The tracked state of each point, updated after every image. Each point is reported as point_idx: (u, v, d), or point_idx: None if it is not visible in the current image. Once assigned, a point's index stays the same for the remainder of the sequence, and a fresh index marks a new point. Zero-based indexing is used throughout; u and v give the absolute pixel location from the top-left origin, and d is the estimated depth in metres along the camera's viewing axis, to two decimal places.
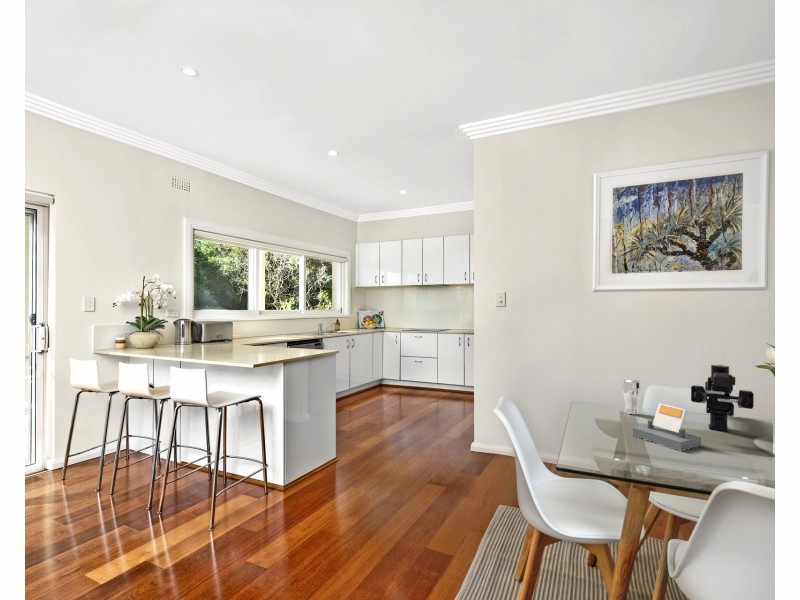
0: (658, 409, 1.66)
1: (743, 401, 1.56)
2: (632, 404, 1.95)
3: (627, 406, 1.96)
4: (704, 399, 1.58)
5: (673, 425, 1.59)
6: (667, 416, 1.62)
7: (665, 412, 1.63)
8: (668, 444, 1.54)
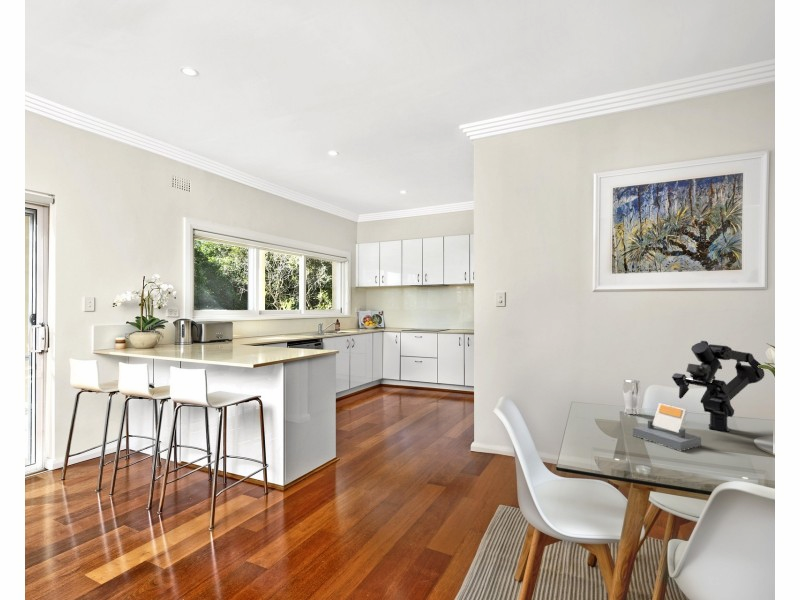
0: (658, 409, 1.66)
1: (714, 391, 1.64)
2: (632, 404, 1.95)
3: (627, 406, 1.96)
4: None
5: (673, 425, 1.59)
6: (667, 416, 1.62)
7: (665, 412, 1.63)
8: (668, 444, 1.54)
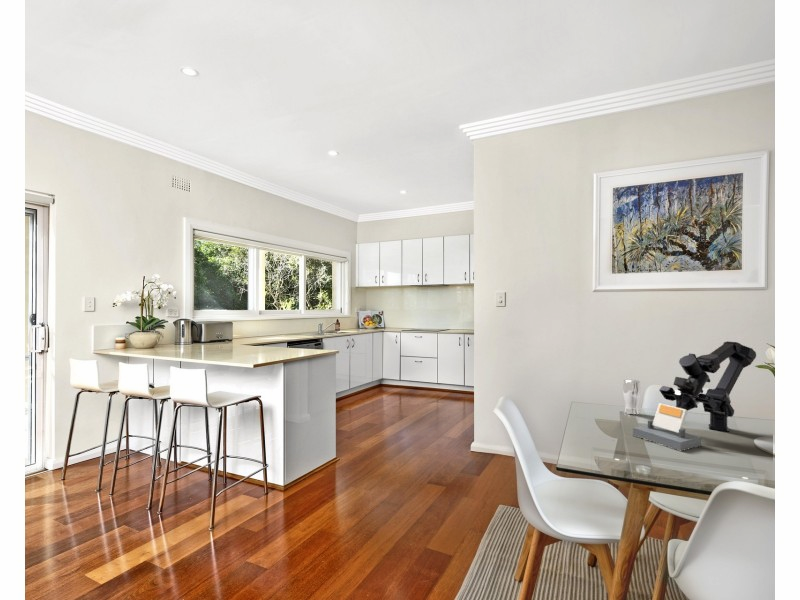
0: (658, 409, 1.66)
1: (690, 403, 1.64)
2: (632, 404, 1.95)
3: (627, 406, 1.96)
4: None
5: (673, 425, 1.59)
6: (667, 416, 1.62)
7: (665, 412, 1.63)
8: (668, 444, 1.54)
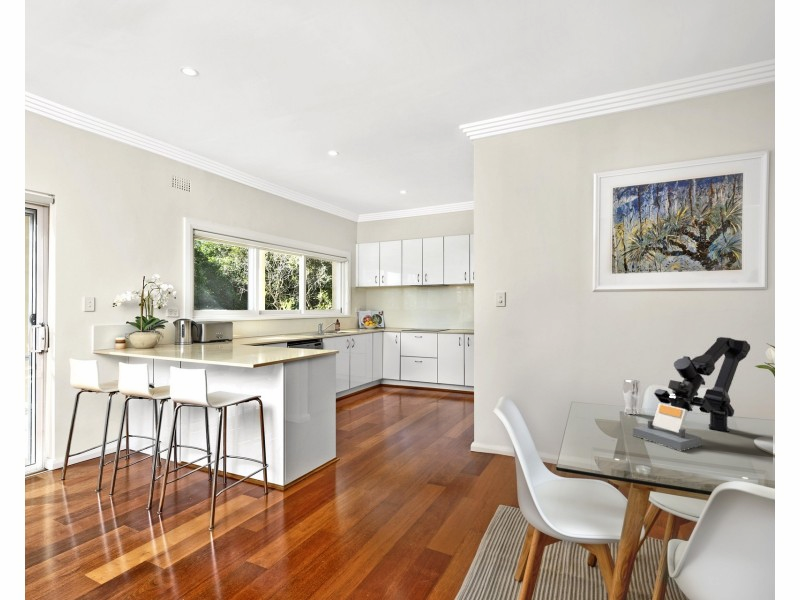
0: (658, 409, 1.66)
1: (685, 406, 1.63)
2: (632, 404, 1.95)
3: (627, 406, 1.96)
4: None
5: (673, 425, 1.59)
6: (667, 416, 1.62)
7: (665, 412, 1.63)
8: (668, 444, 1.54)
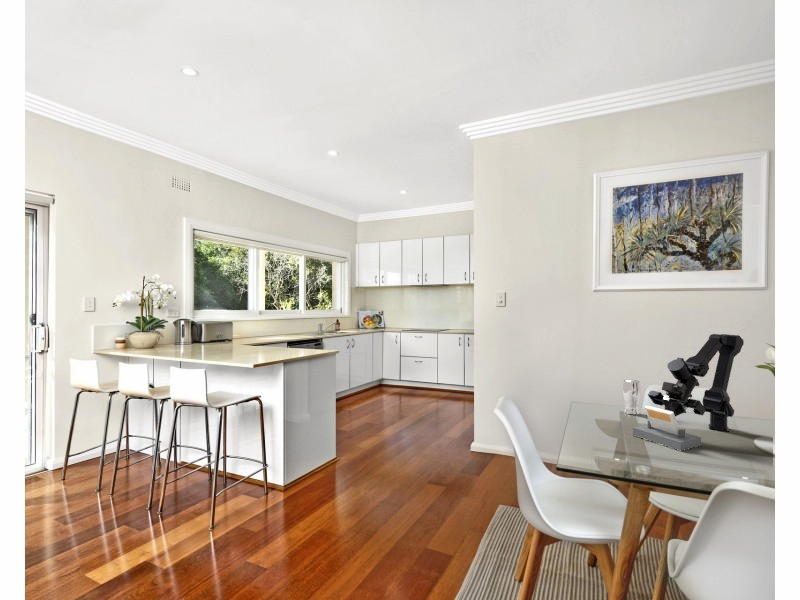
0: (647, 413, 1.63)
1: (679, 408, 1.61)
2: (632, 404, 1.95)
3: (627, 406, 1.96)
4: None
5: (669, 428, 1.58)
6: (659, 420, 1.60)
7: (655, 417, 1.60)
8: (668, 444, 1.54)
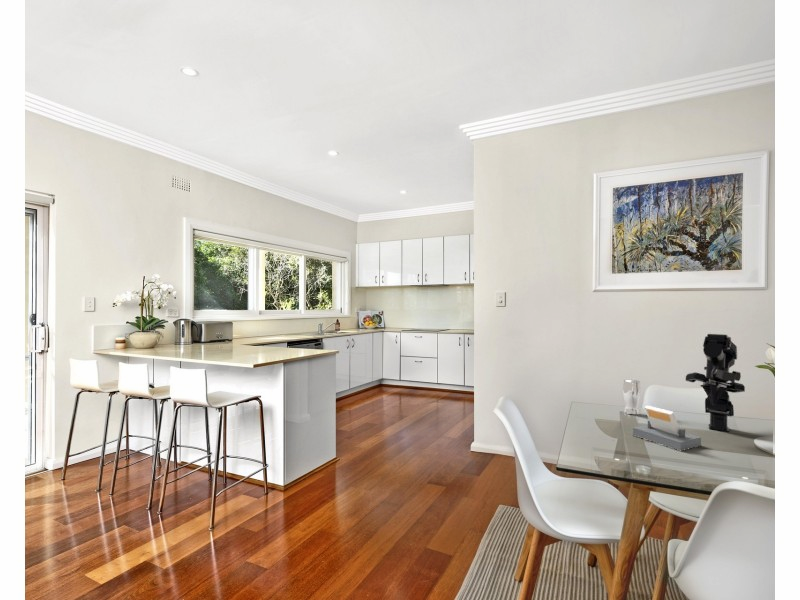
0: (647, 413, 1.63)
1: None
2: (632, 404, 1.95)
3: (627, 406, 1.96)
4: (710, 400, 1.64)
5: (669, 428, 1.58)
6: (659, 420, 1.60)
7: (655, 417, 1.60)
8: (668, 444, 1.54)
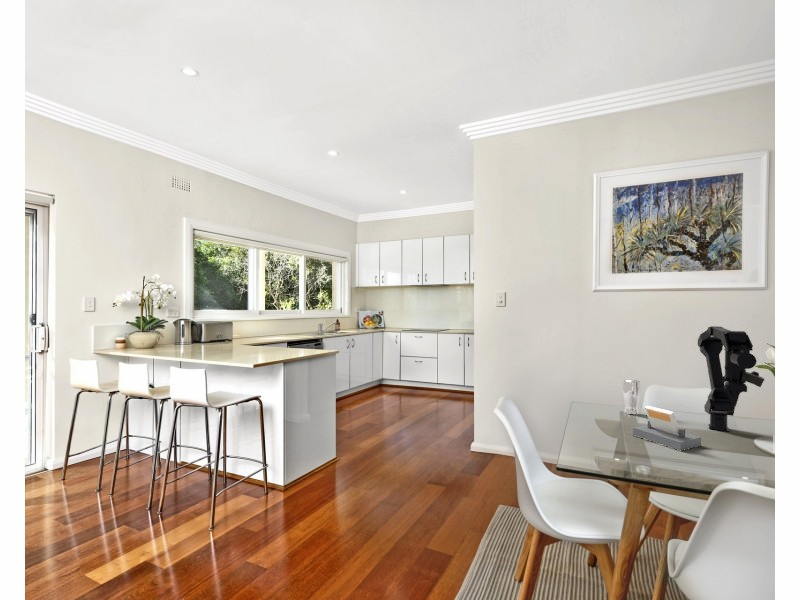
0: (647, 413, 1.63)
1: None
2: (632, 404, 1.95)
3: (627, 406, 1.96)
4: (732, 402, 1.61)
5: (669, 428, 1.58)
6: (659, 420, 1.60)
7: (655, 417, 1.60)
8: (668, 444, 1.54)
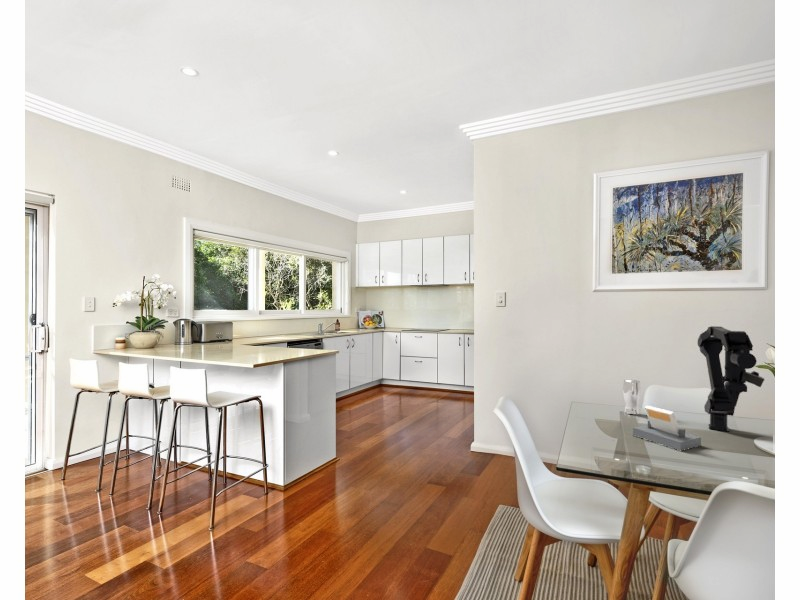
0: (647, 413, 1.63)
1: None
2: (632, 404, 1.95)
3: (627, 406, 1.96)
4: (732, 402, 1.61)
5: (669, 428, 1.58)
6: (659, 420, 1.60)
7: (655, 417, 1.60)
8: (668, 444, 1.54)
